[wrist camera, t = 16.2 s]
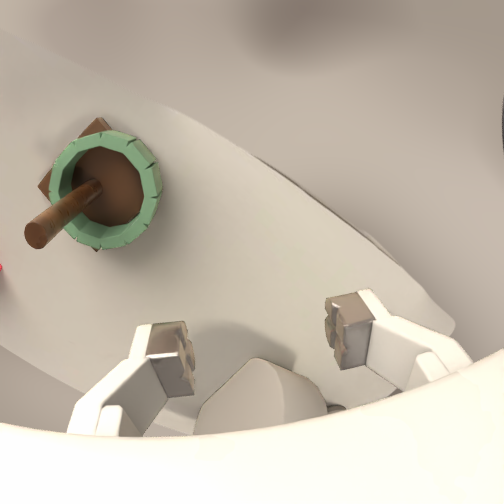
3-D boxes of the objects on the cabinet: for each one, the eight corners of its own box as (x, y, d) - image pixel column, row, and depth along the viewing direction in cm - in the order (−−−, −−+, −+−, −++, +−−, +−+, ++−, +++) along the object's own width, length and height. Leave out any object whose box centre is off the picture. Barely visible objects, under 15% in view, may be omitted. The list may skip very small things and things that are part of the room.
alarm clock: (226, 427, 49) (236, 528, 31) (189, 415, 46) (190, 522, 29) (310, 357, 43) (352, 478, 25) (270, 338, 40) (303, 474, 23)
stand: (101, 117, 26) (30, 128, 14) (163, 188, 30) (130, 244, 18) (43, 183, 28) (-32, 229, 16) (100, 246, 32) (51, 320, 20)
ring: (113, 108, 25) (102, 108, 22) (184, 190, 29) (181, 199, 26) (45, 183, 27) (31, 191, 24) (110, 255, 31) (102, 269, 28)
